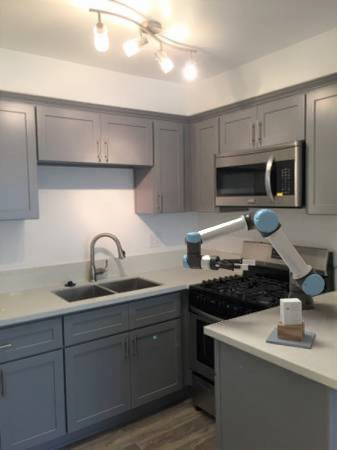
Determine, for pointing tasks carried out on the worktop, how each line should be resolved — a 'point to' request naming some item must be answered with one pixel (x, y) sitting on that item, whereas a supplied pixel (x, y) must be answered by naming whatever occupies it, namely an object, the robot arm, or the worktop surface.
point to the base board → (304, 343)
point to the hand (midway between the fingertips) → (251, 265)
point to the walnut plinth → (291, 331)
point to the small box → (291, 311)
